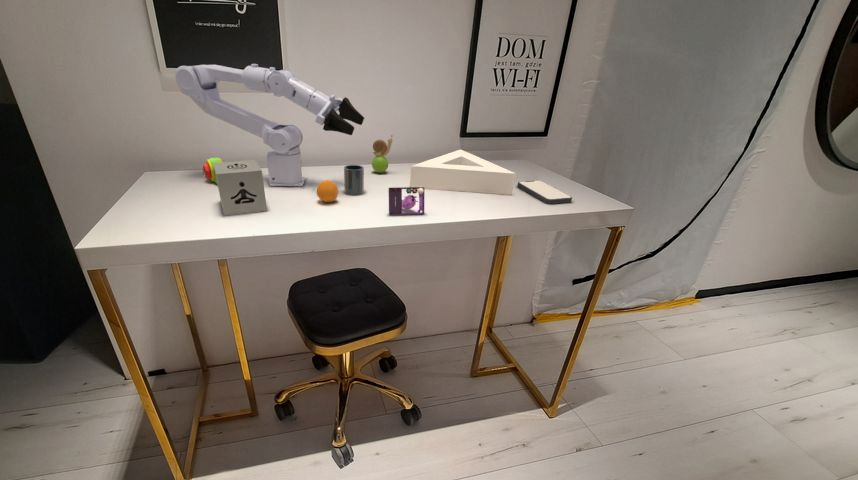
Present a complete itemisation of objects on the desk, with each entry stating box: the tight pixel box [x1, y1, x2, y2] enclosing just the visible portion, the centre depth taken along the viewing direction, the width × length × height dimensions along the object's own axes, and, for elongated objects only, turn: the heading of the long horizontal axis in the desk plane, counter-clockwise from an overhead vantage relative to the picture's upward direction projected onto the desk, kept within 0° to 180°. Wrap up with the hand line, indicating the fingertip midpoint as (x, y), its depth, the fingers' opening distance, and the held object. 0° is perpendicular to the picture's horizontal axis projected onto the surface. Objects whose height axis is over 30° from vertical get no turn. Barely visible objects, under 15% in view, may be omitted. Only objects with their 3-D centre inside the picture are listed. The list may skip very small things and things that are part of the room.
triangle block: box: [409, 149, 517, 196], centre depth 120 cm, size 30×26×6 cm
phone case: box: [516, 179, 573, 205], centre depth 116 cm, size 9×2×16 cm
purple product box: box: [388, 186, 425, 216], centre depth 99 cm, size 7×5×9 cm
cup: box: [343, 164, 365, 196], centre depth 110 cm, size 5×5×7 cm
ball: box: [316, 180, 339, 203], centre depth 103 cm, size 6×6×6 cm
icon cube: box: [213, 159, 268, 217], centre depth 96 cm, size 10×10×10 cm
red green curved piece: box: [202, 157, 223, 186], centre depth 116 cm, size 6×20×7 cm, turn 33°
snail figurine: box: [371, 134, 393, 174], centre depth 126 cm, size 5×6×12 cm
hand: (358, 126), depth 104 cm, fingers open, 7 cm apart
